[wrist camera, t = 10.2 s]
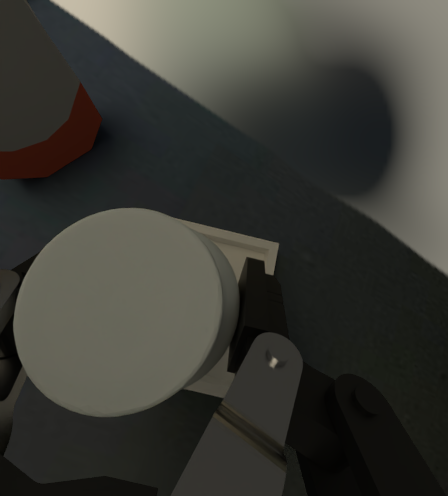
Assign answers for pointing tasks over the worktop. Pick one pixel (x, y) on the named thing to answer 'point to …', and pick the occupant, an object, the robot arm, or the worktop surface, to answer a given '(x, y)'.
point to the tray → (236, 253)
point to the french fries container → (38, 100)
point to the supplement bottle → (124, 312)
